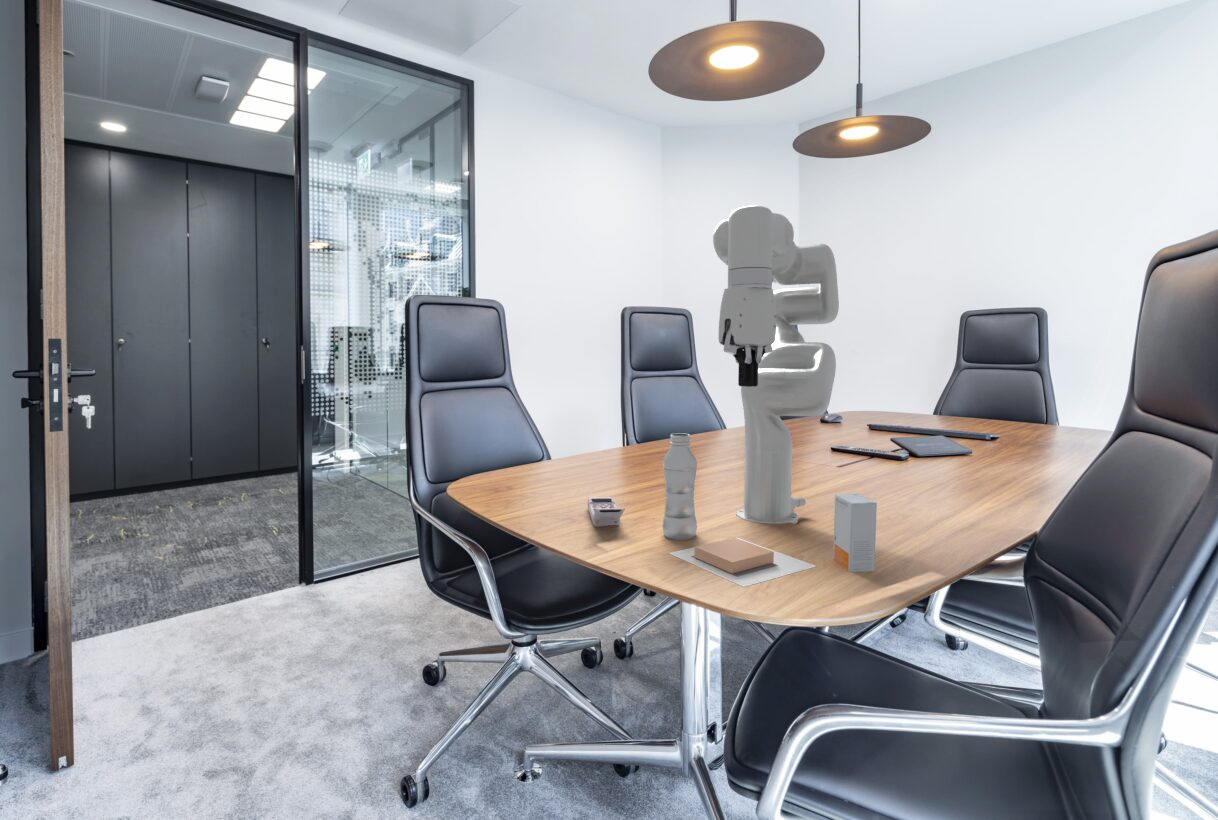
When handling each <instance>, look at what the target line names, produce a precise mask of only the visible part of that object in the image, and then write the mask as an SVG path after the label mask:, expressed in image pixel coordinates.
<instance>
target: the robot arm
mask: <svg viewBox="0 0 1218 820" xmlns="http://www.w3.org/2000/svg"><path fill="white" fill-rule="evenodd" d="M794 234H795V232H794V227H793V225H792V222H790V220H789V219H788V218H787V217H786V216H785V215H783V214H781V213H776V212H772V210H771V209H770V208H769V207H766V206H762V205H748V206H747V205H746V206H741V207H738V208H736V209H733V210H732V211H731V212H730V214H729V217H728V218H725V219H723V220H721V221H720V222H718V224H717V225H716V227H714V231H713V236H712V239H713V240H712V243H713V248H714V251H715V253H716V255H717V257H718V258H719V259H720V261H721V262H722V263H724V264H725V265H726V266H727V288H724V289H723V294H722V297H721V302H720V303H721V304H720V309H719V310H720V311H719V320H718V342H719V344H720V345H722V346H723V352H724V353H727V354H730V355H732V357H733V358H734V359H735V363H736V364H738V374H737V375H738V382H737V383H738V386H739V387H740V393H741V394H740V395H741V400H742V401H741V403H742V407H743V408H742V409H743V416H744V475H743V476H744V477H743V478H744V479H743V480H744V481H743V483H744V485H743V490H744V491H743V508H741V509H738V510H736V513H735V515H736V516H735V517H738V518H739V519H741V520H745V521H747V522H751V523H757V524H765V525H766V524H767V525H772V524H773V525H774V524H775V525H779V524H780V525H781V524H789V523H790V524H794V525H797V523H798V522H799V515H798V514H797V513H795V512H794V511H795V509H796V508H800V507H803V506H806V499H805V498H804V497H802V496H800V497H795V498H794V497H793V496H792V475H793V473H792V472H793V471H792V469H793V465H792V464H793V437H792V432H791V431H790V429H789V428H788V426H787V425H786V424H785V423H784V421H783V420H782V419H781V417H784V416H785V417H786V416H787V417H789V416H790V417H819V416H821V415H824V414H825V412H826V411H827V410H828V408H829V406H830V402H831V397H832V392H833V387H834V382H835V377H836V371H837V370H836V369H837V362H836V361H837V359H836V354H835V351H834V349H833V348H832V346H831V345H829V344H828V343H824V342H817V341H816V342H815V341H814V342H811V341H810V342H806V341H805V338H804V337H803V335H802V334H801V333H800V332H799V330H798V329H796V328H795V327H794V326H797V325H825V324H830V323H832V322H834V321H835V320H836V318H837V316H838V315H839V314H838V313H839V310H840V309H839V308H840V306H839V303H840V302H839V300H840V299H839V289H838V288H839V287H838V276H837V275H838V274H837V264H836V258H835V255H834V252H833V250H832V248H831V247H830V246H829V245H827V244H825V243H814V244H813V243H812V244H802V245H796V243H795V241H794ZM773 283H774V284H776V285H781V286H793V285H794V286H795V285H810V284H811V285H812V284H817V285H818V286H813V287H811V286H810V287H794V288H793V287H792V288H791V287H789V288H781V289H780V288H779V289H777V290H776V289H775V290H774V289H772V288H773Z"/></svg>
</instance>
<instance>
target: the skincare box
mask: <svg viewBox="0 0 1218 820" xmlns="http://www.w3.org/2000/svg"><path fill="white" fill-rule="evenodd" d="M834 498H835V499H834V517H833V519H834V520H833V521H834V523H833V524H834V525H833V550H832V551H833V555H832V558H833V561H835V562H836V563H837V564H839V565H840V566H841V567H843V569H844V570H846V571H848V572H849V573H854V572H855V573H857V572H875V566H876V565H875V564H876V563H875V561H876V559H875V557H876V537H877V536H876V533H877V532H876V531H877V530H876V529H877V505H878V504H877V502H876V501H875V500H872V499H870V498H869V497H866V496H863V495H861V494H859V493H840V494H839V493H837V494H835V495H834Z"/></svg>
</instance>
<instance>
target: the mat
mask: <svg viewBox="0 0 1218 820" xmlns="http://www.w3.org/2000/svg"><path fill="white" fill-rule="evenodd" d="M736 538H737V539H740V540H742V541H745V542H748V543H751V544H753V545H756V546H759V547H762V548H764V549H767V550H770V551H773V552H774V563H771V564H767V565H763V566H759V567H755V568H752V569H748V570H744V571H740V572H736V573H733V574H732V573H730V572H727V571H725V570H723V569H720V568H718V567H716V566H714V565H711V564H709V563H707V562H704V561H702V560H700V559H697V558H695V557H694V547H695V546H694V547H689V548H686V549H681V550H676V551H672V552H668V554H669V555H672V557H673V556H674V557H676V558H678V559H681V561H682V560H683V561H685V562H687V563H689V564H691V565H693V566H696V567H698V568H700V569H702V570H705V571H707V572H709V573H712V574H714V575H715V576H719V577H721V578H722V579H725V580H726V581H730V582H731V583H734V584H735V585H737V586H741V587H743V588H747V587H750V586H752V585H756V584H760V583H763V582H768V581H770V580H775V579H777V578H781V577H785V576H787V575H788V576H789V575H791V574H796V573H799V572H802V571H803V572H804V571H805V570H809V569H813V568H816V567H818V565H816V564H815V565H814V564H811V563H809V562H806V561H804V560H800V559H798V558H796V557H793V556H790V555H787V554H784V553H781V552H779V551H777V550H773V549H771V548H768V547H766V546H762V545H759V544H756V543H753V542H751V541H748V540H745V539H743V538H739V537H736Z"/></svg>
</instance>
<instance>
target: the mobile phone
mask: <svg viewBox="0 0 1218 820" xmlns="http://www.w3.org/2000/svg"><path fill="white" fill-rule="evenodd" d="M625 510H626V508H625V507H624V508H618V507H617V504H616V502H615V501H614V499H613V497H611V496H605V497H602V496H601V497H600V496H599V497H588V498H587V511H589V512H588V513H589V515H590V518H591V521H592V524H593V526H594V527H595V526H596V527H609V526H608V525H618V526H619V525H620V522H621V521H620V520H621V517H622V516H623V514H624V511H625Z"/></svg>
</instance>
